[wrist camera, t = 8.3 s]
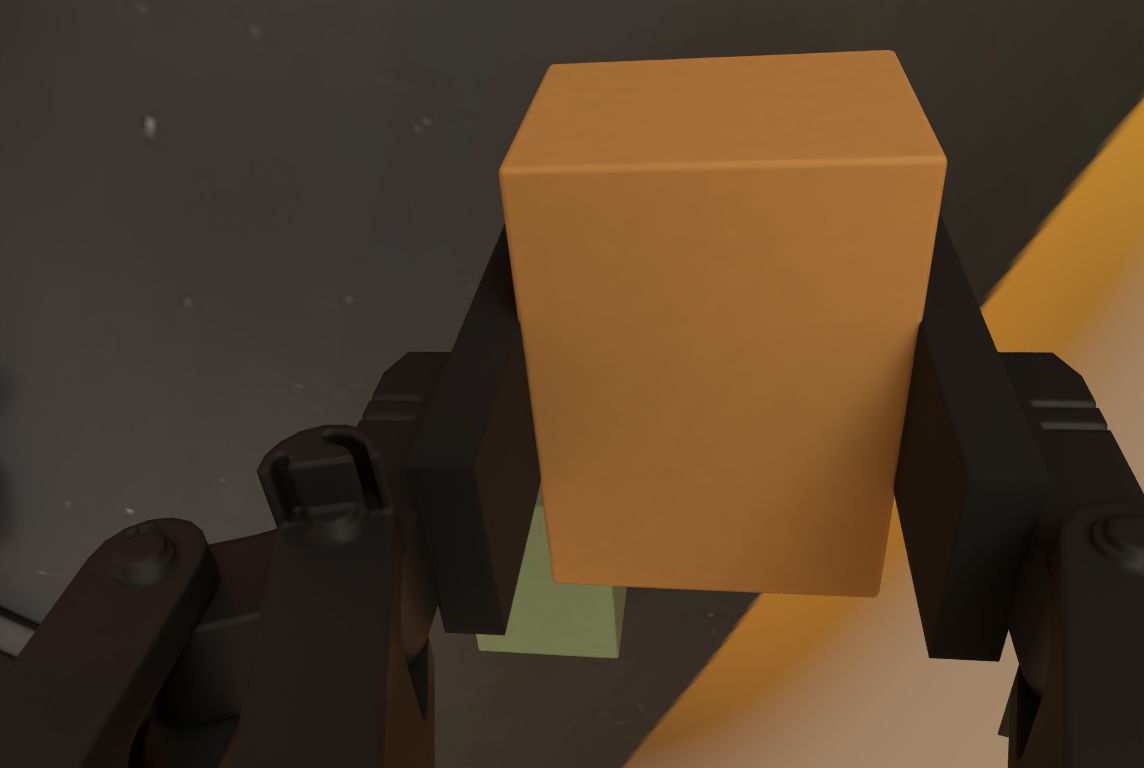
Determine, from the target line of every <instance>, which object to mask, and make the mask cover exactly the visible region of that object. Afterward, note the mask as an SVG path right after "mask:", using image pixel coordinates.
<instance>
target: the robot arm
mask: <svg viewBox="0 0 1144 768" xmlns="http://www.w3.org/2000/svg"><path fill="white" fill-rule="evenodd" d="M362 416H363V420H360V421H359V423H358V425H357V427H353V426H350V425H323V426H319V427H315V428H311V429H307V430H303V431H300V432H298V433H296V434H294V435H293V436H291V437H289V438H287V439H285V440H283V441H281V442H280V443H278V444H277V445H276V446H275V447H274V448H273V449H272V450H270V451H269V452H268V453H267V454H266V455H265V456H264V458H263V460H262V462H261V464H260V466H259V468H258V469H257V474H258V476H259V479H260V482H261V485H262V487H263V490H264V493H265V496H266V498H267V501H268V504H269V506H270V509H271V512H272V515H273V517H274V520H275V523H276V526H277V528H276V529H274V530H271V531H268V532H264V533H261V534H257V535H253V536H248V537H243V538H239V539H234V540H229V541H224V542H219V543H215V544H210V545H208V543H207V541H206V538H205V536H204V534H203V531H202V530H201V529H200V528H198V527H197V526H196V525H194V524H193V523H192V522H191V521H187V520H182V519H176V518H163V519H154V520H148V521H145V522H142V523H140V524H137V525H134V526H131V527H128V528H126V529H124V530H122V531H121V532H119V533H118V534H116V535H114V536H113V537H111V538H110V539H108V540H106V541H105V542H104V543H103V544H102V545H101V546H100V547H99V548H98V549H97V550H96V551H95V552H94V553H93V554H92V555H91V556H90V557H89V558H88V559H87V561H86V562H85V563H84V565H83V566H82V568H81V569H80V570H79V572H78V573H77V574H76V576H75V577H74V579H73V580H72V581H71V583H70V584H69V585H68V587H67V588H66V590H65V591H64V592H63V594H62V595H61V597H60V598H59V599H58V601H57V602H56V603H55V605H54V606H53V608H52V609H51V610H50V612H49V613H48V614H47V616H46V617H45V619H44V620H43V621H42V623H41V624H40V626H39V627H38V628H37V630H36V631H35V632H34V634H33V635H32V637H31V638H30V639H29V641H28V642H27V643H26V645H25V646H24V648H23V649H22V650H21V652H20V653H19V654H18V656H17V657H16V659H15V660H14V661H13V663H12V664H11V666H10V667H9V668H8V670H7V671H6V672H5V674H4V675H3V677H2V678H1V679H0V768H434V657H433V653H432V649H431V645H430V641H429V637H428V634H429V631H430V628H431V625H432V622H433V619H434V615H435V612H436V609H437V606H439V610H440V614H441V618H442V622H443V626H444V630H445V633H464V634H483V635H503V636H505V633H506V629H507V625H508V620H509V616H510V612H511V608H512V603H513V599H514V595H515V590H516V586H517V582H518V578H519V573H520V569H521V565H522V560H523V556H524V552H525V548H526V543H527V539H528V535H529V531H530V526H531V522H532V518H533V513H534V509H535V505H536V501H537V496H538V492H539V488H540V483H541V476H540V468H539V461H538V453H537V445H536V438H535V430H534V423H533V415H532V408H531V400H530V393H529V385H528V378H527V370H526V363H525V355H524V348H523V340H522V333H521V325H520V322H519V320H518V315H517V308H516V300H515V293H514V285H513V278H512V270H511V263H510V255H509V248H508V240H507V233H506V225H505V224H504V227H503V229H502V232H501V234H500V236H499V239H498V241H497V244H496V246H495V248H494V251H493V253H492V256H491V258H490V260H489V263H488V265H487V267H486V270H485V272H484V275H483V277H482V279H481V282H480V284H479V287H478V289H477V291H476V294H475V296H474V299H473V301H472V303H471V306H470V308H469V311H468V313H467V315H466V318H465V320H464V323H463V325H462V327H461V330H460V332H459V335H458V337H457V339H456V342H455V344H454V347H453V349H452V351H451V352H408V353H407V354H405V355H404V356H403V357H402V358H401V359H400V360H398V361H397V362H396V363H395V364H394V365H392V366H391V367H390V368H389V369H388V370H387V371H385V372H384V374H383V376H382V378H381V380H380V382H379V384H378V386H377V388H376V390H375V392H374V394H373V396H372V401H370V402H369V404H368V406H367V408H366V409H365V411H364V413H363V415H362ZM894 495H895V500H896V504H897V509H898V514H899V518H900V523H901V528H902V532H903V537H904V542H905V547H906V551H907V556H908V561H909V566H910V570H911V575H912V580H913V584H914V589H915V594H916V599H917V603H918V608H919V613H920V617H921V622H922V627H923V632H924V636H925V641H926V646H927V650H928V655H929V658H940V659H958V660H959V659H960V660H977V661H996V662H999V660H1000V657H1001V654H1002V650H1003V647H1004V643H1005V639H1006V636H1007V633H1008V629H1009V632H1010V635H1011V638H1012V642H1013V645H1014V649H1015V652H1016V655H1017V658H1018V662H1019V666H1018V670H1017V673H1016V676H1015V679H1014V683H1013V686H1012V689H1011V693H1010V696H1009V699H1008V702H1007V705H1006V709H1005V712H1004V715H1003V718H1002V722H1001V725H1000V728H999V731H998V735H1001V736H1005V737H1009V750H1008V751H1009V752H1008V768H1144V493H1143V491H1142V489H1141V487H1140V486H1139V484H1138V482H1137V480H1136V478H1135V476H1134V474H1133V472H1132V470H1131V468H1130V467H1129V465H1128V463H1127V461H1126V459H1125V457H1124V455H1123V453H1122V451H1121V449H1120V448H1119V446H1118V444H1117V442H1116V440H1115V438H1114V436H1113V434H1112V432H1111V431H1110V430H1107V423H1106V421H1105V419H1104V417H1103V415H1102V413H1101V411H1100V410H1099V408H1096V402H1095V400H1094V398H1093V396H1092V394H1091V393H1090V391H1089V389H1088V387H1087V385H1086V383H1085V381H1084V379H1083V377H1082V376H1081V375H1080V374H1079V373H1077V372H1076V371H1075V370H1074V369H1072V368H1071V367H1070V366H1069V365H1067V364H1066V363H1065V362H1064V361H1062V360H1061V359H1060V358H1059V357H1057V356H1056V355H1055V354H1054V353H1032V352H1031V353H1030V352H1029V353H1028V352H1012V353H1011V352H997V350H996V347H995V345H994V342H993V340H992V338H991V335H990V333H989V330H988V328H987V325H986V323H985V320H984V318H983V316H982V313H981V311H980V308H979V306H978V304H977V301H976V299H975V296H974V294H973V292H972V289H971V287H970V284H969V282H968V280H967V277H966V275H965V272H964V270H963V268H962V265H961V263H960V260H959V258H958V256H957V253H956V251H955V248H954V246H953V244H952V241H951V239H950V236H949V234H948V232H947V229H946V227H945V224H944V222H943V220H942V217H941V215H940V212H939V217H938V224H937V230H936V236H935V243H934V249H933V255H932V262H931V268H930V274H929V281H928V287H927V293H926V300H925V306H924V312H923V318H922V321H921V322H920V323H919V330H918V336H917V343H916V349H915V355H914V362H913V368H912V375H911V381H910V387H909V394H908V400H907V407H906V413H905V419H904V426H903V432H902V439H901V445H900V451H899V458H898V464H897V471H896V477H895V483H894Z"/></svg>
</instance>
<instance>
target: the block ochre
mask: <svg viewBox="0 0 1144 768" xmlns="http://www.w3.org/2000/svg"><path fill="white" fill-rule="evenodd" d="M946 167H947V160H946V156H945V154H944V152H943V150H942V148H941V146H940V144H939V142H938V140H937V138H936V136H935V134H934V132H933V130H932V128H931V126H930V124H929V122H928V120H927V118H926V116H925V114H924V112H923V110H922V108H921V105H920V103H919V101H918V99H917V97H916V95H915V93H914V91H913V89H912V87H911V85H910V83H909V81H908V79H907V77H906V75H905V73H904V71H903V69H902V67H901V65H900V63H899V61H898V59H897V57H896V54H895V52H893V51H891V50H881V51H857V52H834V53H810V54H786V55H763V56H739V57H716V58H692V59H669V60H645V61H622V62H598V63H574V64H553V65H551V66H549V68H548V70H547V72H546V74H545V76H544V78H543V80H542V82H541V84H540V86H539V89H538V91H537V93H536V95H535V97H534V99H533V101H532V103H531V105H530V107H529V109H528V111H527V113H526V115H525V117H524V120H523V122H522V124H521V126H520V128H519V130H518V132H517V134H516V136H515V138H514V140H513V142H512V144H511V146H510V148H509V151H508V153H507V155H506V157H505V159H504V161H503V163H502V165H501V167H500V170H499V181H500V188H501V196H502V203H503V210H504V218H505V225H506V233H507V240H508V248H509V255H510V263H511V270H512V278H513V285H514V293H515V300H516V308H517V315H518V320H519V322H520V325H521V333H522V340H523V348H524V355H525V363H526V370H527V378H528V385H529V393H530V400H531V408H532V415H533V423H534V430H535V438H536V445H537V453H538V461H539V468H540V476H541V483H540V487H541V495H542V502H543V510H544V517H545V525H546V532H547V540H548V547H549V555H550V562H551V570H552V577H553V580H554V582H555V583H558V584H576V585H599V586H622V587H644V588H667V589H690V590H713V591H736V592H759V593H783V594H805V595H827V596H851V597H876V596H877V595H878V593H879V590H880V584H881V577H882V571H883V565H884V558H885V552H886V545H887V539H888V532H889V527H890V520H891V514H892V508H893V502H894V483H895V477H896V471H897V464H898V458H899V451H900V445H901V439H902V432H903V426H904V419H905V413H906V407H907V400H908V394H909V387H910V381H911V375H912V368H913V362H914V355H915V349H916V343H917V336H918V330H919V323H920V322H921V321H922V318H923V312H924V306H925V300H926V293H927V287H928V281H929V274H930V268H931V262H932V255H933V249H934V243H935V236H936V230H937V224H938V217H939V211H940V205H941V198H942V192H943V186H944V180H945V173H946Z"/></svg>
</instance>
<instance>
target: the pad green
mask: <svg viewBox="0 0 1144 768" xmlns="http://www.w3.org/2000/svg"><path fill="white" fill-rule="evenodd" d="M626 591H627V587H622V586H599V585H576V584H558V583H555V582H554V580H553V577H552V570H551V562H550V555H549V547H548V540H547V532H546V525H545V517H544V510H543V502H542V495H541V487H540V488H539V492H538V496H537V501H536V505H535V509H534V513H533V518H532V522H531V526H530V531H529V535H528V539H527V543H526V548H525V552H524V556H523V560H522V565H521V569H520V573H519V578H518V582H517V586H516V590H515V595H514V599H513V603H512V608H511V612H510V616H509V620H508V625H507V629H506V633H505V636H503V635H483V634H476V637H477V642H478V647H479V650H481V651H497V652H515V653H532V654H549V655H567V656H584V657H601V658H618V656H619V649H620V641H621V632H622V624H623V616H624V607H625V599H626Z"/></svg>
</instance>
